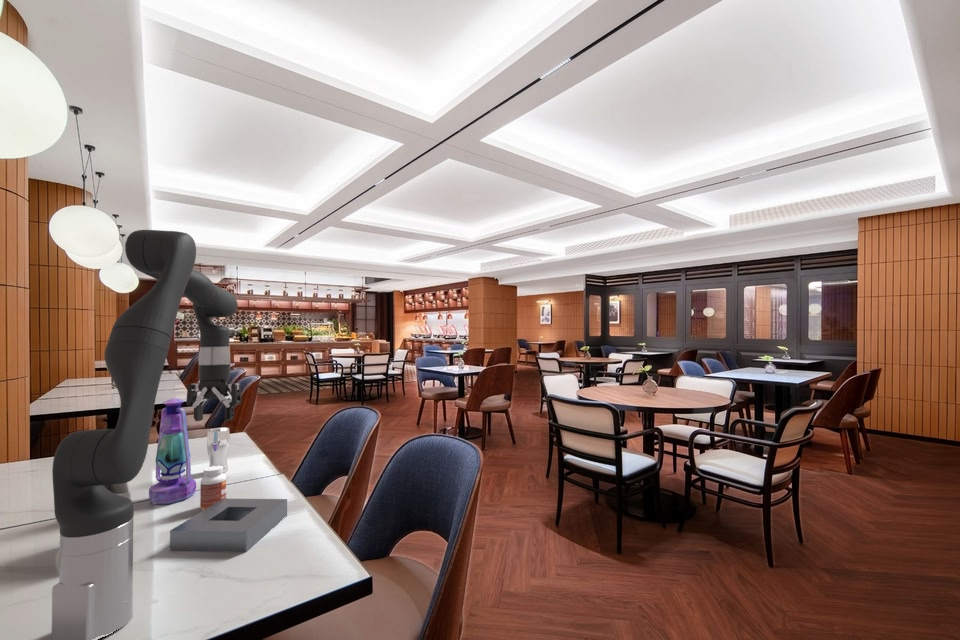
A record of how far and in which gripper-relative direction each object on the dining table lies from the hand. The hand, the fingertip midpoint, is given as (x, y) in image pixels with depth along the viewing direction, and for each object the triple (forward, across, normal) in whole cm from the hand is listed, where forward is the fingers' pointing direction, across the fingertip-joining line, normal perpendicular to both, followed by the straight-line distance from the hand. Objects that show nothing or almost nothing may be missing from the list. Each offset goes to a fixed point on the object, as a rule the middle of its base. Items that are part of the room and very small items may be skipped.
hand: (213, 420), depth 116 cm
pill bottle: (+25, -2, +2) cm, 25 cm away
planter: (+26, -13, -20) cm, 35 cm away
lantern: (+25, -18, +9) cm, 32 cm away
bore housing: (+25, +14, -12) cm, 31 cm away
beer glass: (+25, -20, +32) cm, 45 cm away
